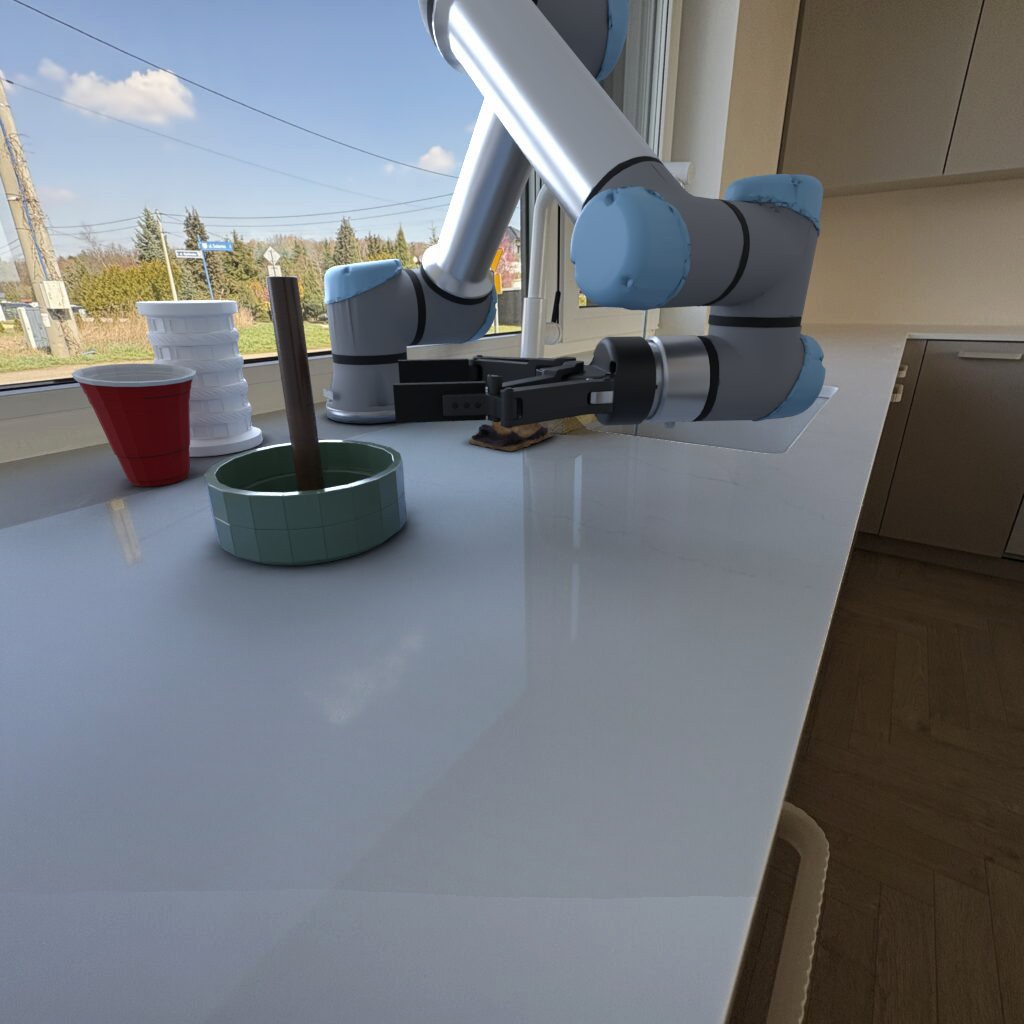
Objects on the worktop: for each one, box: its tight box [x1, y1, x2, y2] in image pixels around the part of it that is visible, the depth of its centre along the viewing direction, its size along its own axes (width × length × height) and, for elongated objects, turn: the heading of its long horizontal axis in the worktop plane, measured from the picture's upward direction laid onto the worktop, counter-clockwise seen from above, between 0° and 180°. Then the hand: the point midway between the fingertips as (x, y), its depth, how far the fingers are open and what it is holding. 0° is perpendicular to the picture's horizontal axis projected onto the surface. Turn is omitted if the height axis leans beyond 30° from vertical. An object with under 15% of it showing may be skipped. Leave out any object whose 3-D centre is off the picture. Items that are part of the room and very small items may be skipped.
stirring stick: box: [265, 275, 325, 492], centre depth 46 cm, size 5×5×20 cm
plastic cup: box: [70, 363, 196, 488], centre depth 61 cm, size 11×11×12 cm
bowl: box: [203, 439, 408, 566], centre depth 49 cm, size 16×16×6 cm
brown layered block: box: [468, 421, 554, 453], centre depth 78 cm, size 11×8×4 cm
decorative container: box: [135, 299, 264, 458], centre depth 73 cm, size 12×12×18 cm
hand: (396, 387), depth 47 cm, fingers open, 13 cm apart
